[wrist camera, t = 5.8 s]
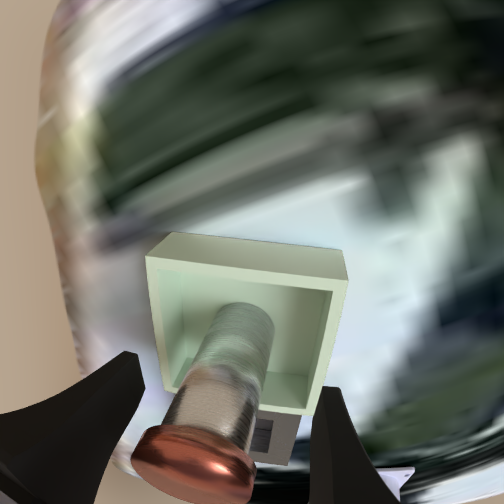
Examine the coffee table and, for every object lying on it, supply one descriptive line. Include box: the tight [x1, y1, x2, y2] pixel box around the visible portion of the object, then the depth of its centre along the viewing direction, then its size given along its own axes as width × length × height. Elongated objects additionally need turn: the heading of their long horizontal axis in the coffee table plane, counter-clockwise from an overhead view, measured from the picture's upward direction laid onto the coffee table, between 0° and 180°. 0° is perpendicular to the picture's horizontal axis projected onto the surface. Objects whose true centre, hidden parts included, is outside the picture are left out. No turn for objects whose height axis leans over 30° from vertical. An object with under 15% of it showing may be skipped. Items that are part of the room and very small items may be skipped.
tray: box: [145, 232, 348, 416], centre depth 15 cm, size 8×8×3 cm
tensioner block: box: [248, 410, 302, 466], centre depth 19 cm, size 7×7×2 cm
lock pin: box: [130, 302, 275, 504], centre depth 12 cm, size 4×4×9 cm
